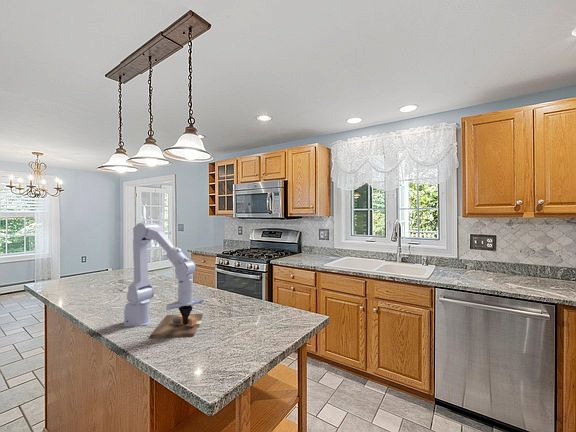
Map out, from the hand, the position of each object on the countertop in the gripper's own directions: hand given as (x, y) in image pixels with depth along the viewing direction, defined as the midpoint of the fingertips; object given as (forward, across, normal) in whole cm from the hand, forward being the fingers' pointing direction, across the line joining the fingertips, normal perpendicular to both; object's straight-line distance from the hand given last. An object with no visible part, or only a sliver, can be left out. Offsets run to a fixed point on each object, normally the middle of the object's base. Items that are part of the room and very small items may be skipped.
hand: (185, 324), depth 115 cm
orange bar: (0, +1, +3) cm, 4 cm away
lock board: (+3, 0, +6) cm, 7 cm away
